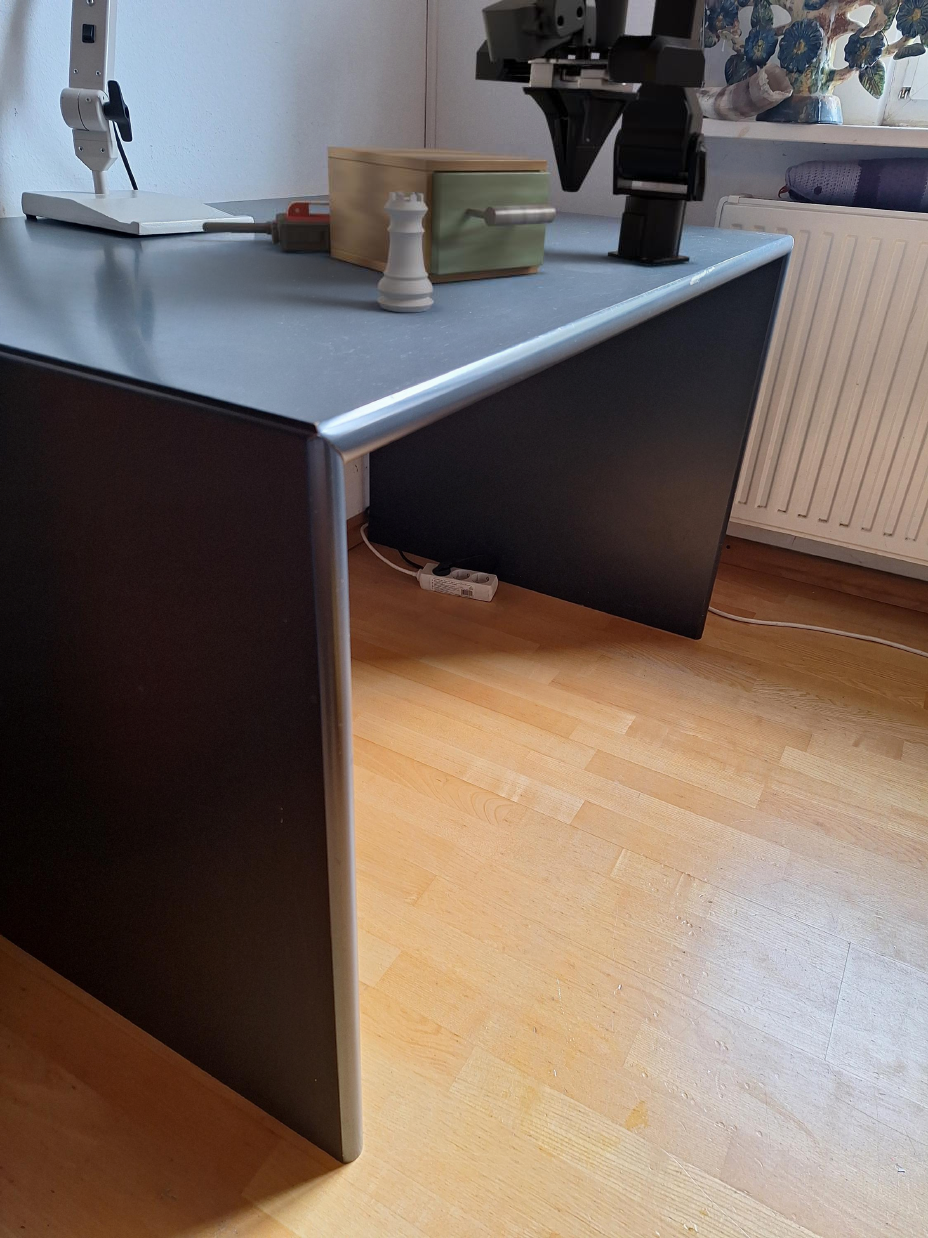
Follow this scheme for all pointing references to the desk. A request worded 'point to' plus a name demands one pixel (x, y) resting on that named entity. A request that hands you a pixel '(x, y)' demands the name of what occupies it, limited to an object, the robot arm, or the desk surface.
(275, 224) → the walkie-talkie
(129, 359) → the desk surface
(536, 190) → the drawer
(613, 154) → the robot arm
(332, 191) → the cabinet
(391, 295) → the rook chess piece
